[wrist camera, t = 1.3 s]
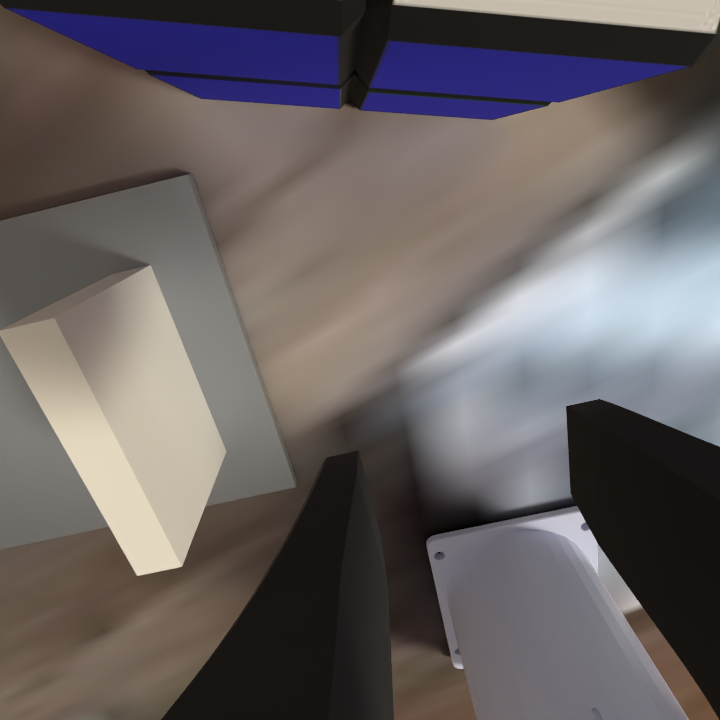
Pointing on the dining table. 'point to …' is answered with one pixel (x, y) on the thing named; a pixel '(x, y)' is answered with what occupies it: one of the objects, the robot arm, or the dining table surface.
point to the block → (125, 411)
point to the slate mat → (192, 320)
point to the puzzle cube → (392, 48)
